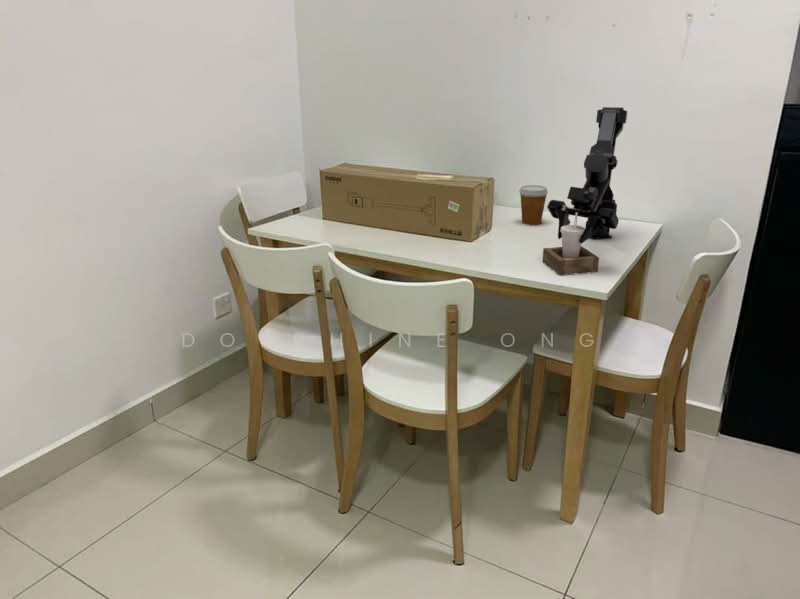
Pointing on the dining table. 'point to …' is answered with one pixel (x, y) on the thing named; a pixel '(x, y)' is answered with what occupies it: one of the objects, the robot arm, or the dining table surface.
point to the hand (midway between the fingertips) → (569, 240)
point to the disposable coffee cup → (532, 203)
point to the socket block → (570, 261)
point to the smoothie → (571, 239)
